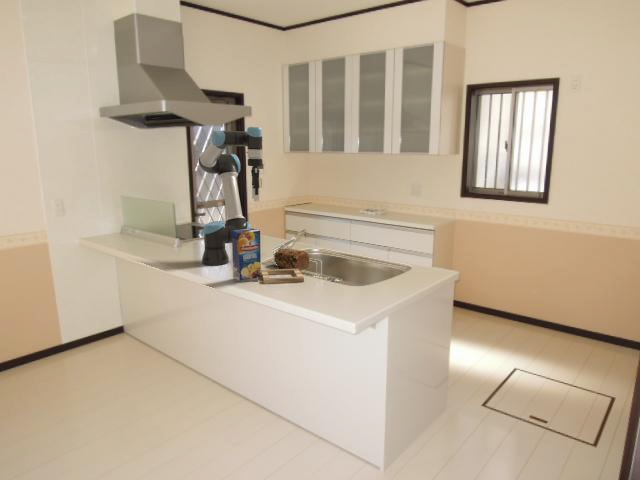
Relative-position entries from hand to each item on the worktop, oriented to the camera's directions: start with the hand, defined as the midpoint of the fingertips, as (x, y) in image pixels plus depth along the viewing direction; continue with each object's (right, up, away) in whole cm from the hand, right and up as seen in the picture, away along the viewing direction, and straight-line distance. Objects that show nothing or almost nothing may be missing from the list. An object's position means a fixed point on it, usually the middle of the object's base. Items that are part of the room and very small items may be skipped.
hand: (255, 199), depth 237 cm
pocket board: (+14, -40, -2) cm, 43 cm away
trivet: (-4, -40, -5) cm, 41 cm away
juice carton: (-4, -40, -5) cm, 40 cm away
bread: (+17, -36, +20) cm, 45 cm away
